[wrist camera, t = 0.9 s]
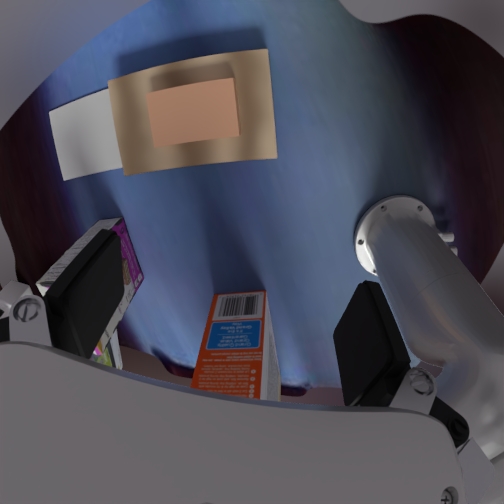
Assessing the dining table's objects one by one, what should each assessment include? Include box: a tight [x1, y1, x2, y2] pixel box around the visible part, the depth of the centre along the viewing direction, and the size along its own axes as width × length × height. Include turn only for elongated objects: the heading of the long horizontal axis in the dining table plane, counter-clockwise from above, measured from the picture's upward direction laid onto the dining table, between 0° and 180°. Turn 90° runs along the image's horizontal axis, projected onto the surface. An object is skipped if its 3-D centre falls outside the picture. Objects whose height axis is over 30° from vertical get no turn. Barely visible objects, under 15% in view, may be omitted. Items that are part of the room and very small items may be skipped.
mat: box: [49, 88, 123, 181], centre depth 32 cm, size 12×11×1 cm
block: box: [146, 78, 242, 148], centre depth 27 cm, size 9×6×2 cm, turn 95°
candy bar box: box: [36, 217, 144, 355], centre depth 34 cm, size 11×5×16 cm, turn 7°
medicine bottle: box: [0, 280, 33, 319], centre depth 45 cm, size 7×7×12 cm
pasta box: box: [190, 290, 280, 402], centre depth 37 cm, size 23×8×30 cm, turn 9°
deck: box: [108, 49, 277, 176], centre depth 29 cm, size 18×12×4 cm, turn 95°
